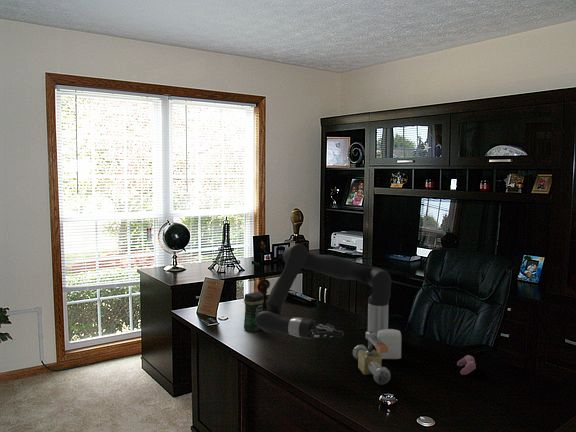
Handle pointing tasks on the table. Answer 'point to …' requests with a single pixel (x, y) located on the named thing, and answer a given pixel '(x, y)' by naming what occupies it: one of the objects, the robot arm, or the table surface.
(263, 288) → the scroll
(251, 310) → the coffee jar
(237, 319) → the table surface
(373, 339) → the lever
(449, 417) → the table surface
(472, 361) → the pink curved piece
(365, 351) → the valve
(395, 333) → the photo printer
